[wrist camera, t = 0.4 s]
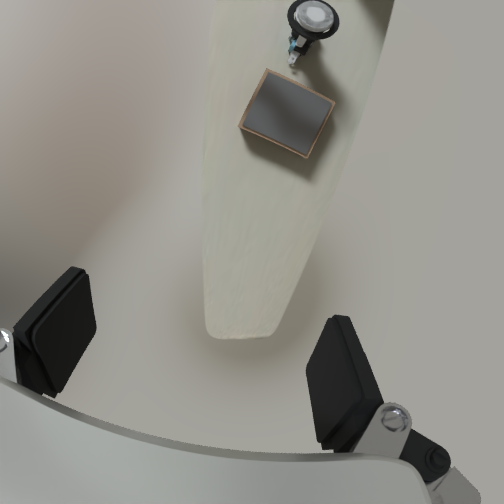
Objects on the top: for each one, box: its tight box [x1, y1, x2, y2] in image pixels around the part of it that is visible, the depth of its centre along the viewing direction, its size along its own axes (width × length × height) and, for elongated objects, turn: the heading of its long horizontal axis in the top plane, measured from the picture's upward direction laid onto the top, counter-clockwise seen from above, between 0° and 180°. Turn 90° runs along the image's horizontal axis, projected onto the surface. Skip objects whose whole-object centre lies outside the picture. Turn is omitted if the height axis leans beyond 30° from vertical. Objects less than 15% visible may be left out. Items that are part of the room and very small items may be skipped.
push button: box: [287, 0, 339, 64], centre depth 24 cm, size 7×5×10 cm
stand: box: [238, 68, 336, 159], centre depth 31 cm, size 8×9×4 cm
